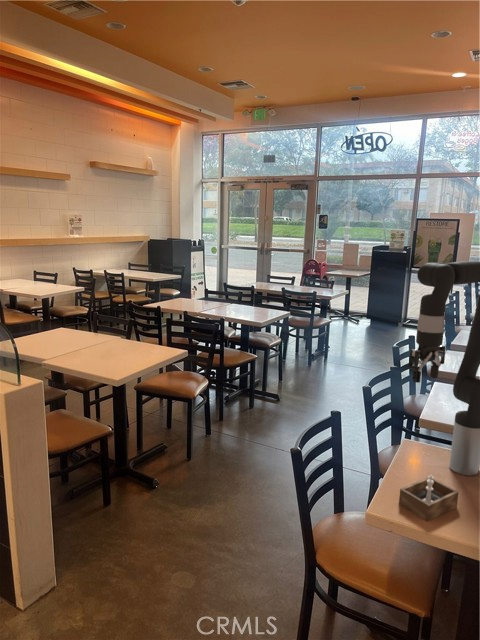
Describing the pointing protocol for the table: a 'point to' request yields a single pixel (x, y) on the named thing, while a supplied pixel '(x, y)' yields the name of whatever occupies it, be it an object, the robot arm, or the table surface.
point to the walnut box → (440, 496)
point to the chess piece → (429, 490)
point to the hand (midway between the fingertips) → (425, 379)
